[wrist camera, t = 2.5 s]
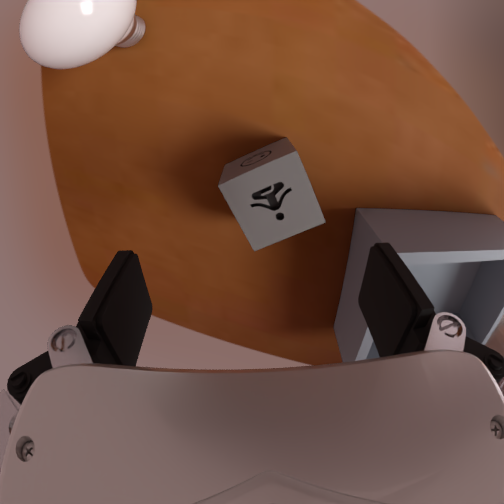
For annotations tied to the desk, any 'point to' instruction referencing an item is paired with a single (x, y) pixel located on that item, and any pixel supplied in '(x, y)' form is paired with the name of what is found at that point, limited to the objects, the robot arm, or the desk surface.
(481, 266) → the box
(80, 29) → the lightbulb
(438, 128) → the desk surface
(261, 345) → the desk surface
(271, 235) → the dice cube
